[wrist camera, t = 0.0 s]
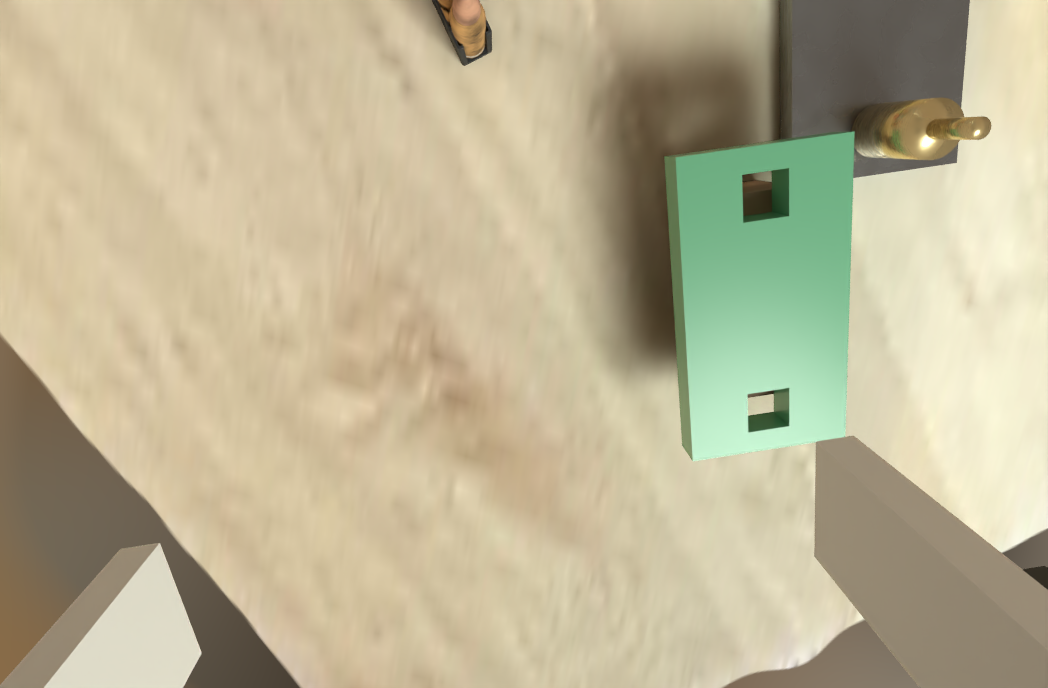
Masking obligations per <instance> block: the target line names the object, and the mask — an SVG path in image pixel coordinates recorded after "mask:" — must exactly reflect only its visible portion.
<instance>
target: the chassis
mask: <svg viewBox="0 0 1048 688" xmlns="http://www.w3.org/2000/svg"><path fill="white" fill-rule="evenodd" d="M969 3H970V0H780V140H781V139H788V138H795V137H802V136H809V135H815V134H822V133H829V132H852V131H855V133H854V166H853V178H856V177H862V176H869V175H876V174H883V173H890V172H896V171H903V170H910V169H917V168H924V167H931V166H937V165H944V164H951V163H957V151H958V142H959V141H960V140H979V139H983V138H984V137H986V136H987V135H988V133H989V132H990V129H991V122H990V120H989V119H988V118H987V117H964V114H963V111H962V109H961V102H962V89H963V77H964V65H965V52H966V40H967V28H968V15H969Z"/></svg>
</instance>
